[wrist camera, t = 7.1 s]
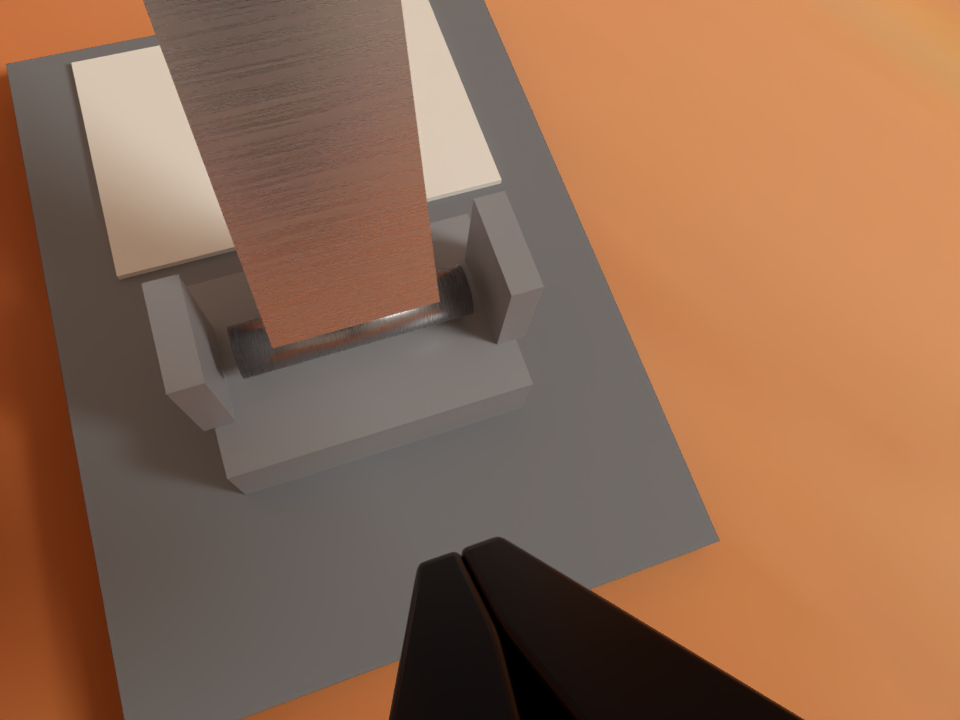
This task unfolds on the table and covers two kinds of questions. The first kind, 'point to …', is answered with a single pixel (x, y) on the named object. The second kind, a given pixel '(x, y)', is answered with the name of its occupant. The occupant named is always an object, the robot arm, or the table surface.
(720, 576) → the table surface
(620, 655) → the robot arm
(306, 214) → the lever
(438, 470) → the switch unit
